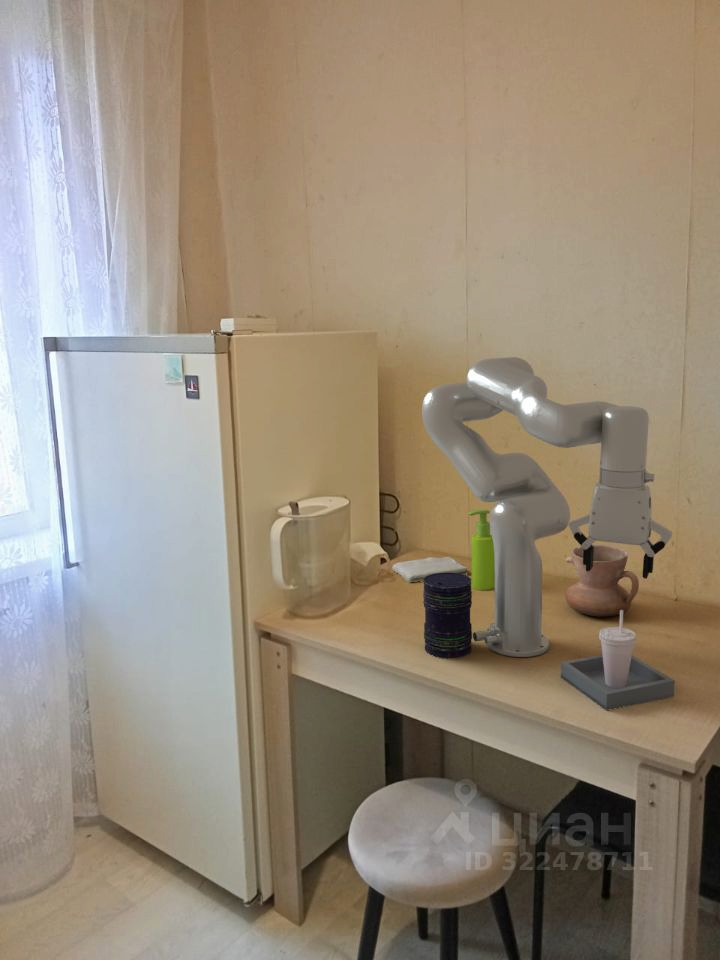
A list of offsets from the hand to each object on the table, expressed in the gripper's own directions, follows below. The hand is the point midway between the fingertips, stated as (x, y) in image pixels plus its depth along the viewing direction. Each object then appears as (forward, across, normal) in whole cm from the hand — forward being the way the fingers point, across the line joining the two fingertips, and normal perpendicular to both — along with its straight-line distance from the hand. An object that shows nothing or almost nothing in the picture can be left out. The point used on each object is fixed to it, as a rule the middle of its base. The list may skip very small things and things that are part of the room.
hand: (617, 572), depth 138 cm
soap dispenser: (+23, +39, -43) cm, 63 cm away
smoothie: (+21, -1, 0) cm, 21 cm away
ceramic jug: (+22, +8, -37) cm, 44 cm away
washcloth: (+24, +55, -49) cm, 78 cm away
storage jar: (+22, +33, -4) cm, 40 cm away
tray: (+22, -1, 0) cm, 22 cm away
